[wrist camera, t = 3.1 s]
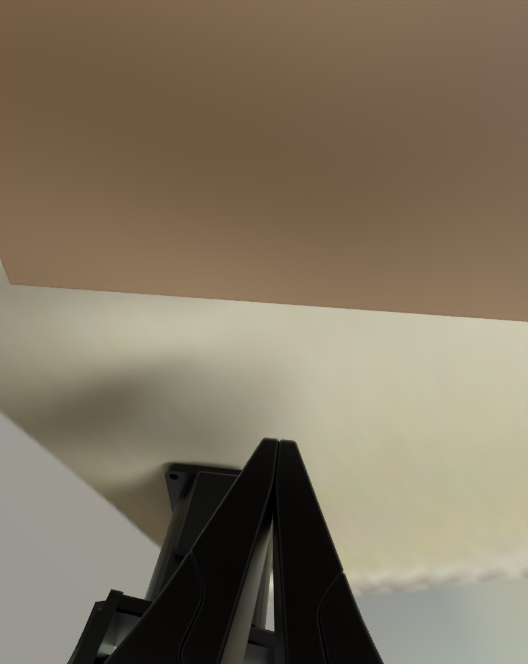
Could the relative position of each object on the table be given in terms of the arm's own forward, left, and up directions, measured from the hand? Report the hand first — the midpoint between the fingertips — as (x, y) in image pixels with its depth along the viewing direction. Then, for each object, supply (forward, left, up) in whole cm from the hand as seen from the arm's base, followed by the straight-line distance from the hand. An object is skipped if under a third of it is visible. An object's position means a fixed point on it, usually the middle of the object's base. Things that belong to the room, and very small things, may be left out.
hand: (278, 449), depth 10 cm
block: (+7, 0, -6) cm, 10 cm away
